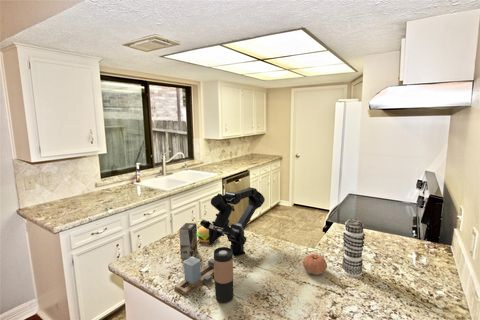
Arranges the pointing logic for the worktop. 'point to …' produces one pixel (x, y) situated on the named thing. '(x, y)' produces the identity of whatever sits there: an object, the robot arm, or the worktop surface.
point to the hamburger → (203, 234)
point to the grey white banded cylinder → (353, 247)
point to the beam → (204, 279)
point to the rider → (192, 270)
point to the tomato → (315, 264)
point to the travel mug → (223, 274)
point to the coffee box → (188, 240)
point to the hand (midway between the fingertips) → (209, 245)
